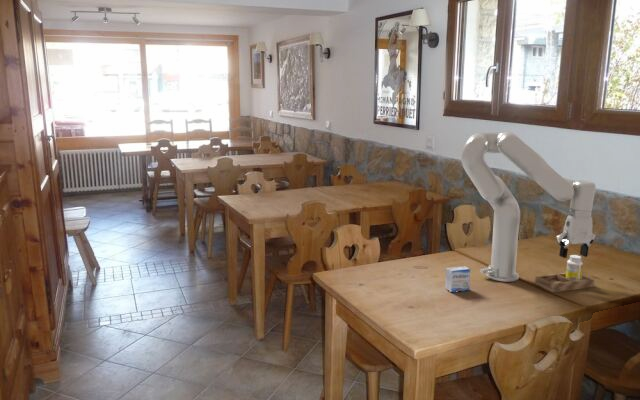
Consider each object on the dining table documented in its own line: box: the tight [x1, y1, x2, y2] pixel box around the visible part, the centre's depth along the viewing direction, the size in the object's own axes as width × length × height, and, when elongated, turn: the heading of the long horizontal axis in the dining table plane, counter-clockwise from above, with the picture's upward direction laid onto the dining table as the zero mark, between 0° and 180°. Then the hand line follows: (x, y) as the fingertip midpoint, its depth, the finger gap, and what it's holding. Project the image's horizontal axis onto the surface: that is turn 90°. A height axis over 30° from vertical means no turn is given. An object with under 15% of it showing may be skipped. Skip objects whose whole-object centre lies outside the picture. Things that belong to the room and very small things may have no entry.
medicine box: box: [445, 265, 471, 293], centre depth 194 cm, size 8×4×9 cm, turn 105°
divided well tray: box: [534, 272, 595, 293], centre depth 198 cm, size 19×10×3 cm, turn 106°
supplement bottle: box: [565, 254, 584, 281], centre depth 199 cm, size 6×6×10 cm
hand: (573, 256), depth 198 cm, fingers open, 9 cm apart
